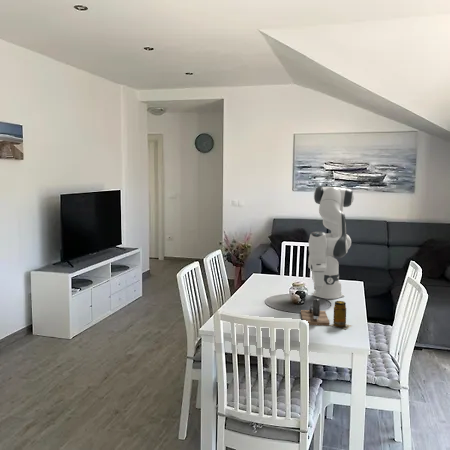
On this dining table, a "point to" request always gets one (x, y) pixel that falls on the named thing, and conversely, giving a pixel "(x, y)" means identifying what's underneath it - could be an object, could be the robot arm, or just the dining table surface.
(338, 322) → the condiment
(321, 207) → the robot arm
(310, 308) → the lever
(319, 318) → the board
